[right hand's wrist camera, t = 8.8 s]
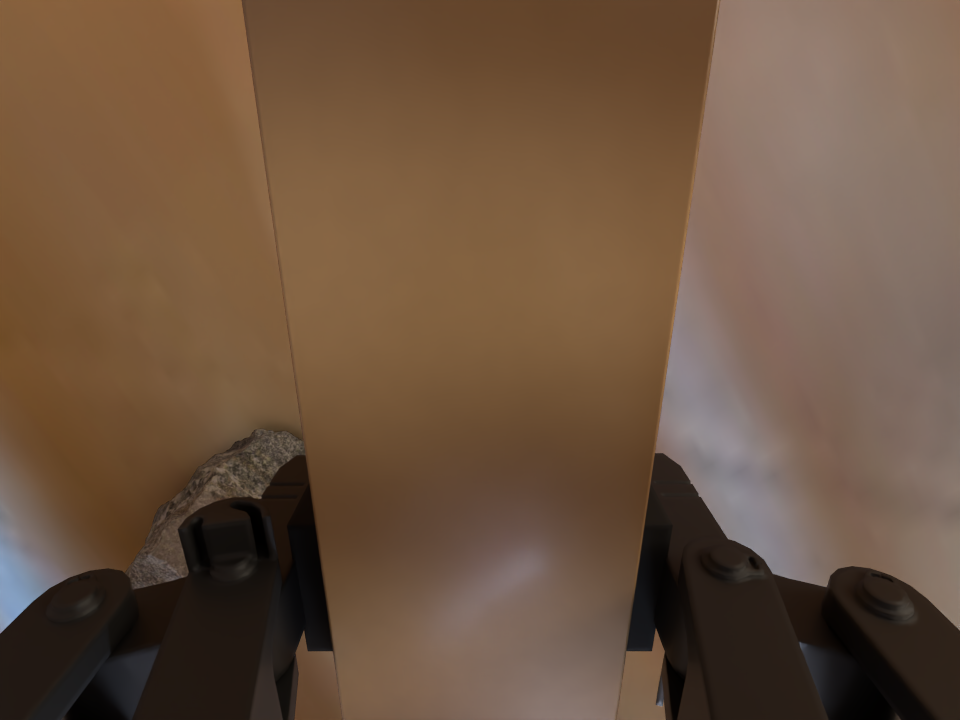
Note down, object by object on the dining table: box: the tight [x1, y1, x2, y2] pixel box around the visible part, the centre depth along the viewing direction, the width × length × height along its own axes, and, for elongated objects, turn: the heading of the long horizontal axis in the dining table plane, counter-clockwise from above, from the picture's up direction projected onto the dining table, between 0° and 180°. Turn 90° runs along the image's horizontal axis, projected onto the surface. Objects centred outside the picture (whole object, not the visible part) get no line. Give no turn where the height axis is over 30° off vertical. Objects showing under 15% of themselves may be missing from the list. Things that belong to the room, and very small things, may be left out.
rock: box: [125, 429, 305, 590], centre depth 25 cm, size 13×9×6 cm, turn 165°
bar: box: [242, 0, 720, 720], centre depth 9 cm, size 24×4×8 cm, turn 0°
